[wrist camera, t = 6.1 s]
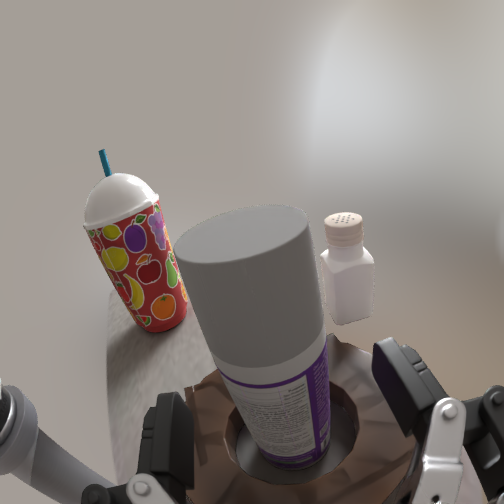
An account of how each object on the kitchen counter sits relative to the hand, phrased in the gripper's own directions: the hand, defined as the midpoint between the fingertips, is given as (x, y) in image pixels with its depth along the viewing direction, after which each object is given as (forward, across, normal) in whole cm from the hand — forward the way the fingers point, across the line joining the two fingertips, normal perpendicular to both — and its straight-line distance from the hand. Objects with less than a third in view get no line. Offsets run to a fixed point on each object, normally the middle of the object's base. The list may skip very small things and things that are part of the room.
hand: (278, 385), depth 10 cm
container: (+2, 0, +9) cm, 9 cm away
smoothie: (+20, +11, +9) cm, 25 cm away
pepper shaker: (+13, -8, +9) cm, 18 cm away
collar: (+2, 0, +9) cm, 9 cm away
